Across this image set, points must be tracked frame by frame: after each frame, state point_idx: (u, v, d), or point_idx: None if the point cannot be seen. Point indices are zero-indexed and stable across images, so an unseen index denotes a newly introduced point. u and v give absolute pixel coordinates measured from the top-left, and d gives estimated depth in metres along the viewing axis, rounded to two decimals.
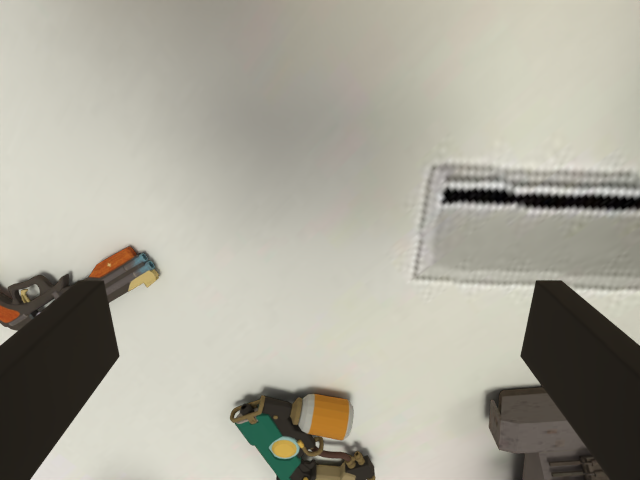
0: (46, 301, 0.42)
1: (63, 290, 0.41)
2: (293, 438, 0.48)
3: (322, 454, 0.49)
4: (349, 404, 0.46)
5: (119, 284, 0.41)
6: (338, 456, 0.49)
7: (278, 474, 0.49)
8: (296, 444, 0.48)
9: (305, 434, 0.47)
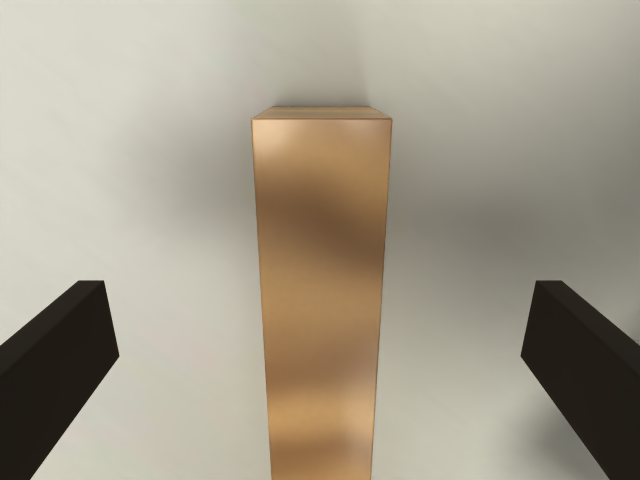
0: None
1: None
2: None
3: None
4: None
5: None
6: None
7: None
8: None
9: None
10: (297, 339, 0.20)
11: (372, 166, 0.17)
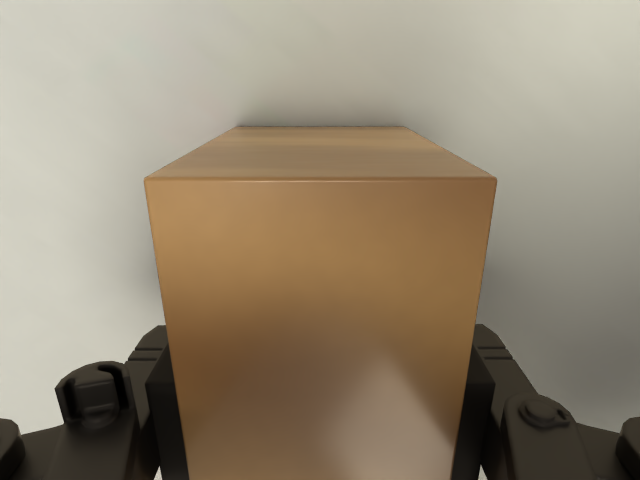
0: None
1: None
2: None
3: None
4: None
5: None
6: None
7: None
8: None
9: None
10: None
11: (442, 286, 0.07)
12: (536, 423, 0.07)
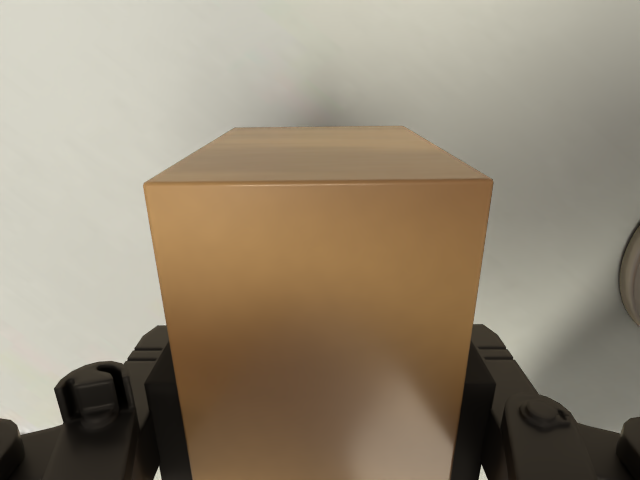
0: None
1: None
2: None
3: None
4: None
5: None
6: None
7: None
8: None
9: None
10: None
11: (439, 286, 0.07)
12: (537, 423, 0.07)
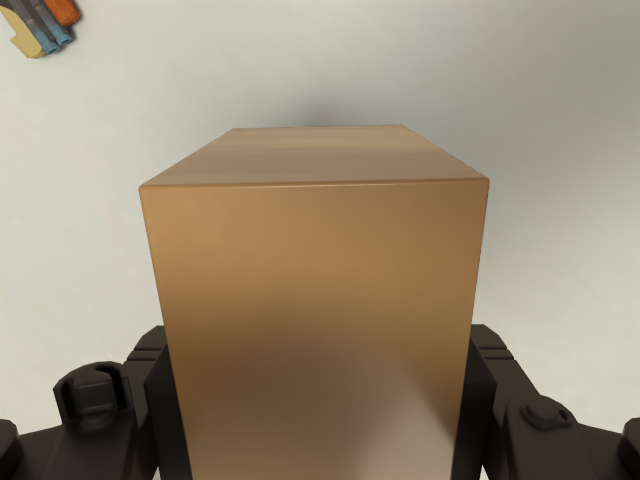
0: None
1: None
2: None
3: None
4: None
5: None
6: None
7: None
8: None
9: None
10: None
11: (436, 286, 0.07)
12: (538, 423, 0.07)
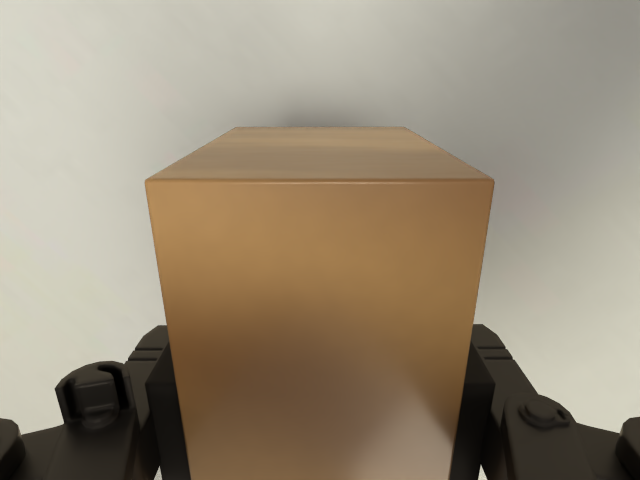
0: None
1: None
2: None
3: None
4: None
5: None
6: None
7: None
8: None
9: None
10: None
11: (439, 286, 0.07)
12: (536, 424, 0.07)
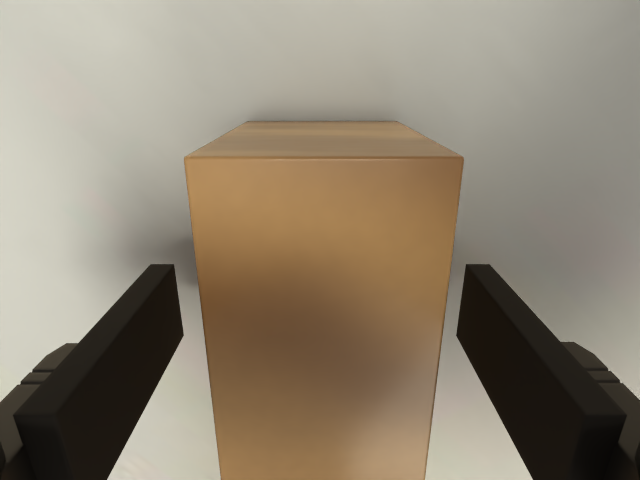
0: None
1: None
2: None
3: None
4: None
5: None
6: None
7: None
8: None
9: None
10: None
11: (421, 245, 0.09)
12: None
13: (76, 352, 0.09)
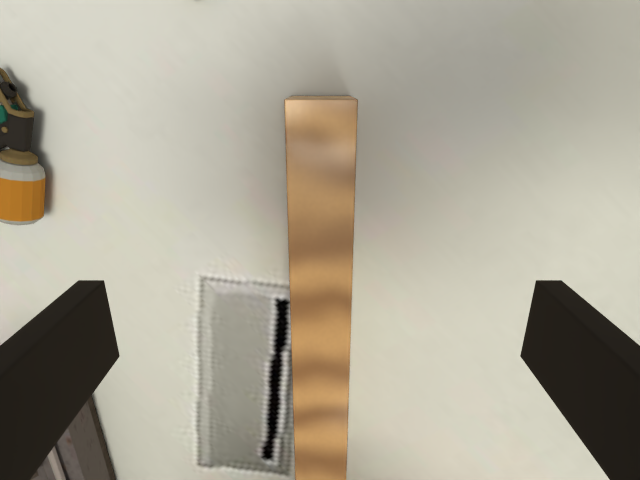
0: None
1: None
2: None
3: None
4: (40, 218, 0.40)
5: None
6: None
7: None
8: None
9: None
10: (307, 226, 0.34)
11: (347, 125, 0.32)
12: None
13: None
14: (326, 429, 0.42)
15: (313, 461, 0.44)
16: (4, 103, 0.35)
